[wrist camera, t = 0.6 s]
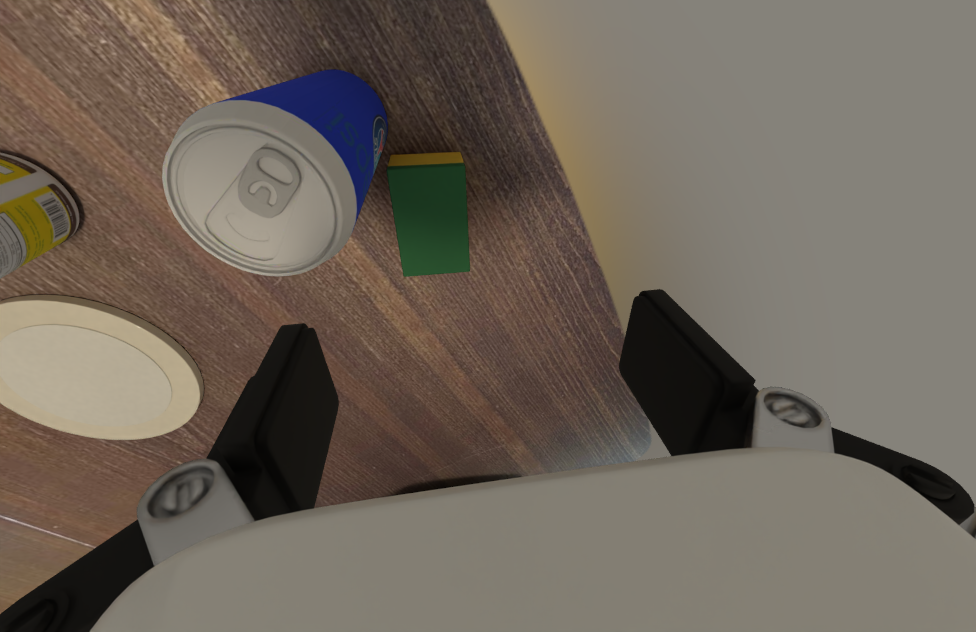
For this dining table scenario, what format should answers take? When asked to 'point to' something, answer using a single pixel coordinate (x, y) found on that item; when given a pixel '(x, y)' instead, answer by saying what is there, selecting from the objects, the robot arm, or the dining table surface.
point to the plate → (93, 369)
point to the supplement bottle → (31, 213)
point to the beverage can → (277, 171)
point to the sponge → (430, 212)
